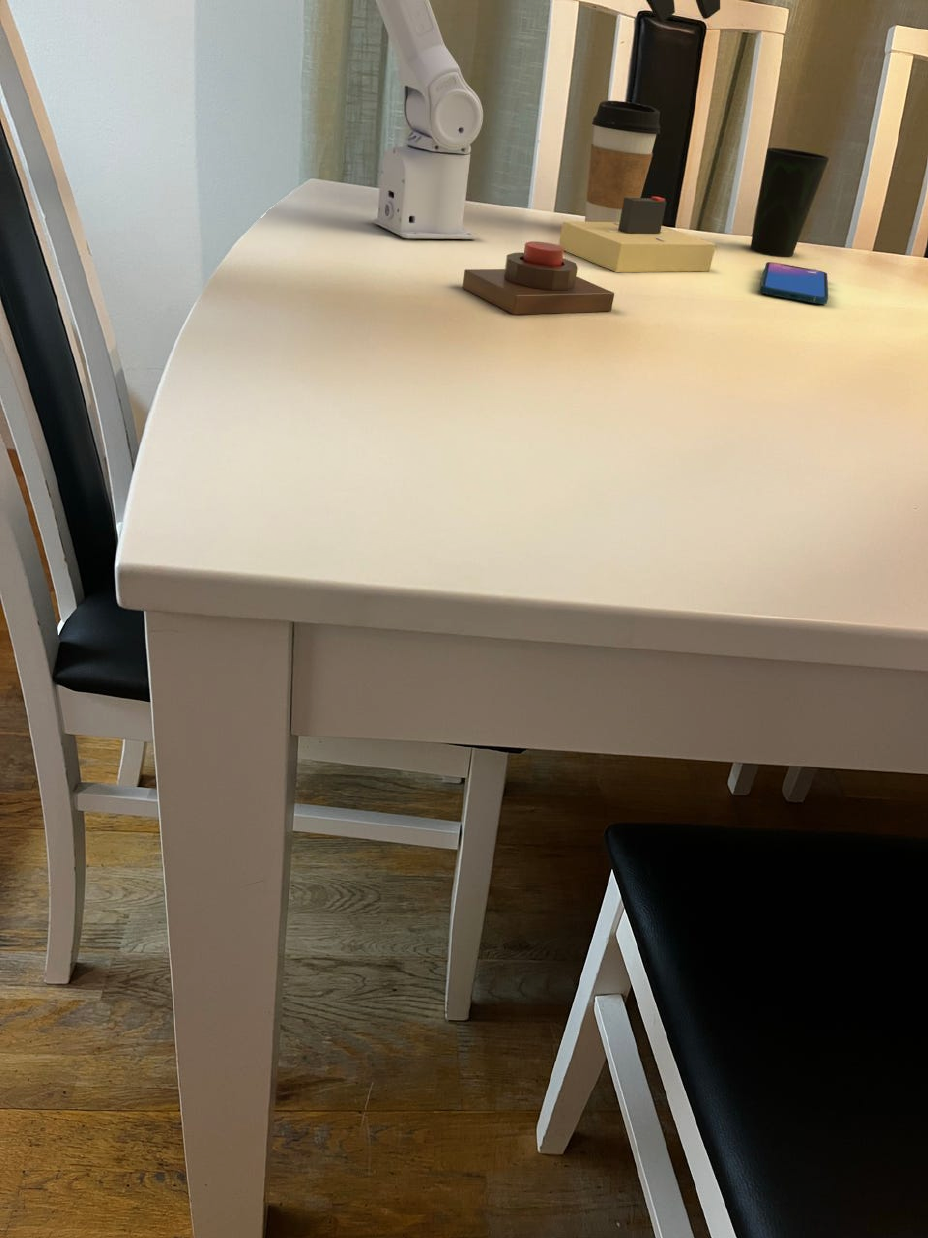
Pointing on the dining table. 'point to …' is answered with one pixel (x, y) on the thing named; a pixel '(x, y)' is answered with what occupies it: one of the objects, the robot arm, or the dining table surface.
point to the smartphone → (795, 283)
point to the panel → (636, 248)
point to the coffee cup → (619, 157)
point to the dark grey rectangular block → (642, 215)
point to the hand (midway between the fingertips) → (688, 15)
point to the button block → (537, 288)
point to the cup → (785, 199)
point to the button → (543, 254)
